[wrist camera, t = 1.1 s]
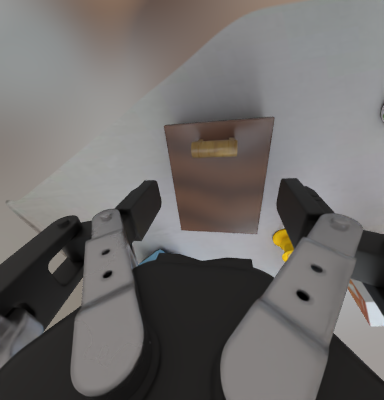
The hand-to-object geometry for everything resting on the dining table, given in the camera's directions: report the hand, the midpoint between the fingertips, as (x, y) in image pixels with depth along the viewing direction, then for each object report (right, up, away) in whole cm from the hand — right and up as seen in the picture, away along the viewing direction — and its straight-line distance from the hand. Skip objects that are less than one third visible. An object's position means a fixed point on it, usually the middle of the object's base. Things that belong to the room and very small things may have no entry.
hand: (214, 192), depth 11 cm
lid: (+2, +2, +15) cm, 15 cm away
